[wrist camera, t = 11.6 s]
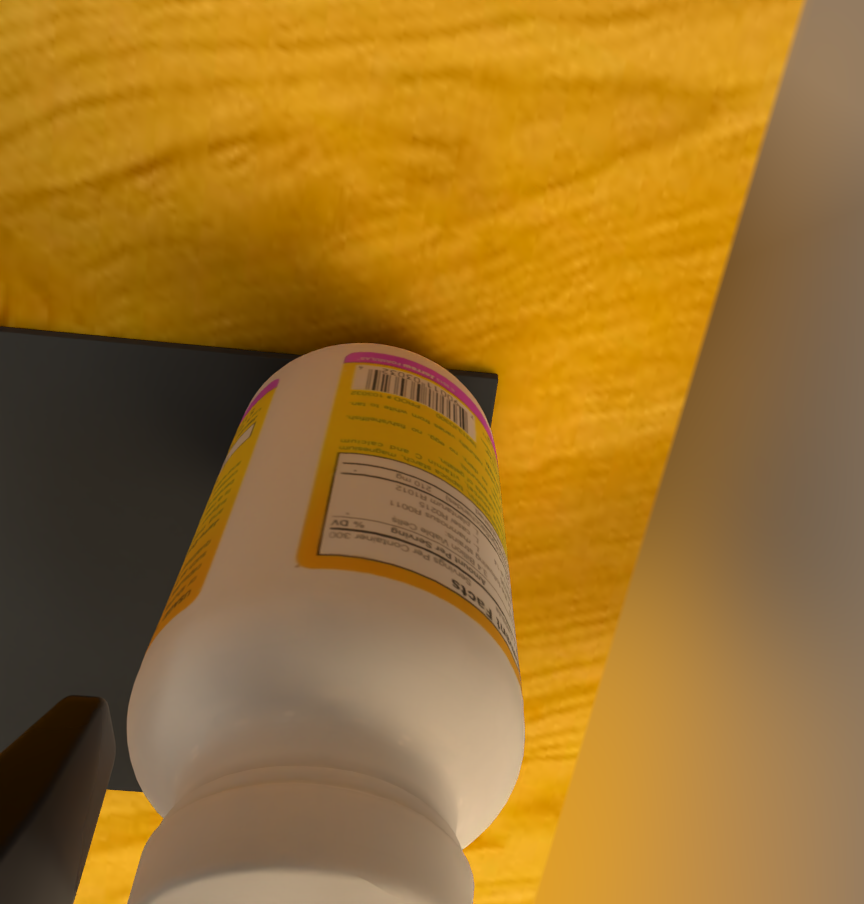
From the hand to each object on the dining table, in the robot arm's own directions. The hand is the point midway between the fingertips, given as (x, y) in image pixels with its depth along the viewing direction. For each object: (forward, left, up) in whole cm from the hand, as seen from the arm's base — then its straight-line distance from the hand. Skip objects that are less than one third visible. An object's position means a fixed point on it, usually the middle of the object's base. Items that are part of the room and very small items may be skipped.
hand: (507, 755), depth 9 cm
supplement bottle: (+2, +4, -13) cm, 13 cm away
